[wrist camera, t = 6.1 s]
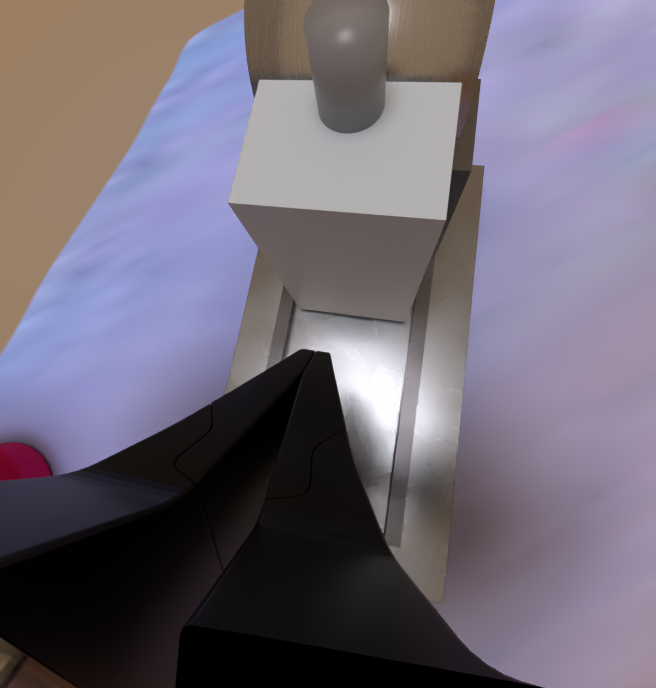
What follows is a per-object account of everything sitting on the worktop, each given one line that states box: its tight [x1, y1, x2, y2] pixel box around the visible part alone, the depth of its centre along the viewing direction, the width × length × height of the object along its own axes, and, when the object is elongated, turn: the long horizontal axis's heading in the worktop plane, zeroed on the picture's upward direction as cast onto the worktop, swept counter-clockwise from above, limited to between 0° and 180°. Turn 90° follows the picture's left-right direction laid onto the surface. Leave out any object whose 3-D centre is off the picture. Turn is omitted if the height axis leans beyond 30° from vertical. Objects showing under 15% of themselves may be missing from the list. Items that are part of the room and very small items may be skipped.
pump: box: [228, 0, 462, 322], centre depth 12 cm, size 4×6×11 cm
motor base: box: [225, 0, 495, 604], centre depth 12 cm, size 22×12×12 cm, turn 170°
